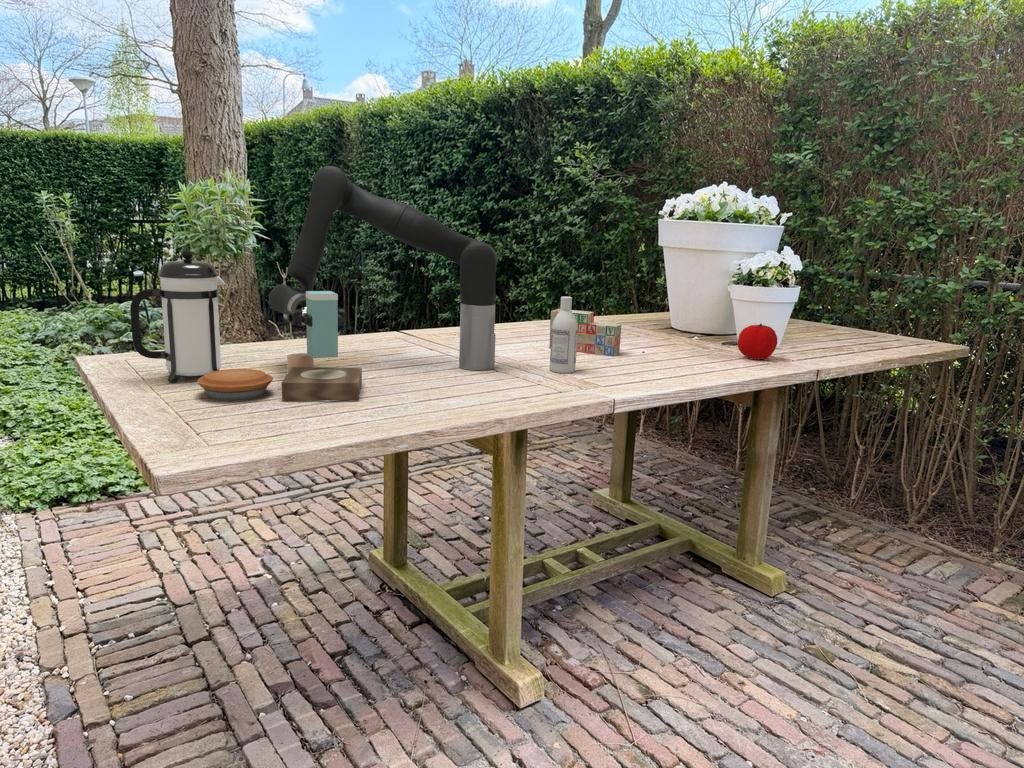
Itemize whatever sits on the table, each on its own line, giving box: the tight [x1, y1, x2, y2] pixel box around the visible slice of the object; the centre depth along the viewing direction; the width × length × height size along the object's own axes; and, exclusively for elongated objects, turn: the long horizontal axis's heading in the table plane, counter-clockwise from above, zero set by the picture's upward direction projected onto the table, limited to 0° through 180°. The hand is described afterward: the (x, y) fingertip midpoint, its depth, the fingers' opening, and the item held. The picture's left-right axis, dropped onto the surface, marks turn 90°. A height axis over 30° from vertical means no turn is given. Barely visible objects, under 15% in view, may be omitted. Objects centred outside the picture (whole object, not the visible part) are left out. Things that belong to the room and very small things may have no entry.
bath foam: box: [549, 296, 578, 374], centre depth 196 cm, size 7×7×20 cm
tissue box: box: [281, 366, 363, 402], centre depth 165 cm, size 16×16×4 cm
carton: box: [306, 290, 339, 359], centre depth 162 cm, size 6×6×14 cm
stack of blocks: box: [549, 308, 622, 357], centre depth 228 cm, size 21×6×12 cm, turn 64°
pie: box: [197, 368, 274, 402], centre depth 161 cm, size 15×16×5 cm
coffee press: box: [130, 249, 226, 384], centre depth 171 cm, size 17×16×30 cm
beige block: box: [286, 352, 315, 373], centre depth 176 cm, size 6×6×6 cm
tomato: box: [737, 323, 778, 360], centre depth 227 cm, size 12×12×11 cm
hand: (325, 321), depth 160 cm, fingers closed on carton, 5 cm apart
